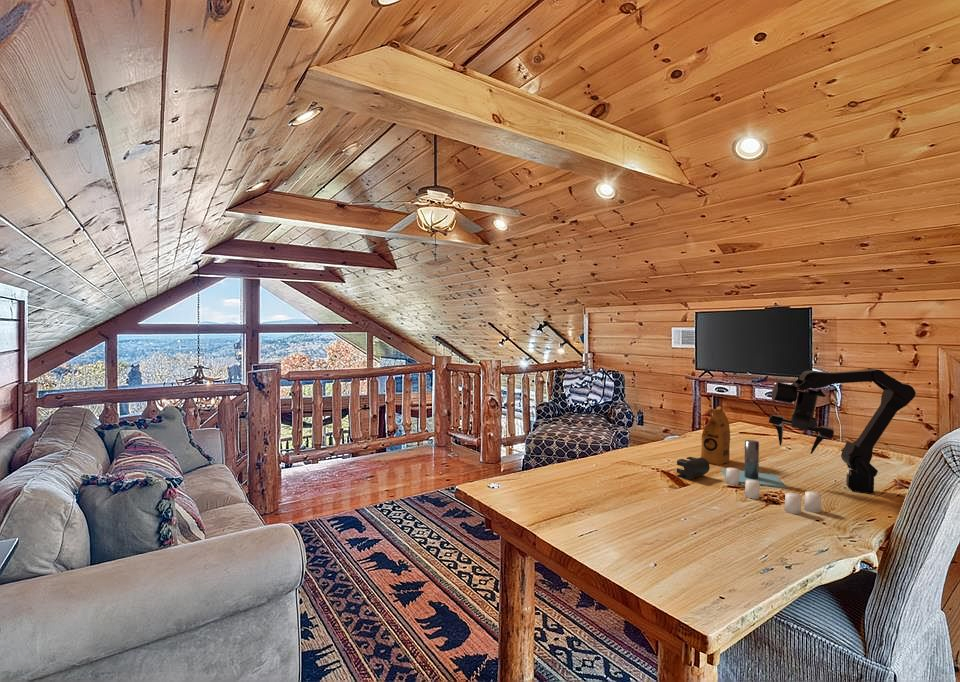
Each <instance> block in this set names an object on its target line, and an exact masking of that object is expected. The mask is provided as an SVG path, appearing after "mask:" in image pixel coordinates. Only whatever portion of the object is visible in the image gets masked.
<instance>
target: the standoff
mask: <svg viewBox="0 0 960 682" xmlns="http://www.w3.org/2000/svg"><path fill="white" fill-rule="evenodd" d="M759 458H760V442H759V441H758V440H753V439H749V440H748V439H745V440H744V471H745V472H744V476H745V477H746V478H750V479H758V476H759V473H760V472H759V470H760V469H759V468H760V467H759V464H760V463H759V462H760V459H759Z"/></svg>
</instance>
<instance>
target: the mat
mask: <svg viewBox="0 0 960 682" xmlns="http://www.w3.org/2000/svg"><path fill="white" fill-rule="evenodd" d="M720 472H721V473H722V474H723V476H724V478H725V479H726V468H721V469H720ZM744 472H745V470H739V484H744V485H745V481H746V480H748V479H749V480H756V481H759V482H760V486H761V485H763V487H771V486H772V487H771V488H779V489H780V488H781V489H787V488H788V487H787V485H786V484H785V483H784V481H782V480H781V479H780V478H779V477H778V476H777V475H776V474H775V473H765V472H759V476H758V479H750V478H746V477H745V476H744Z"/></svg>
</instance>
